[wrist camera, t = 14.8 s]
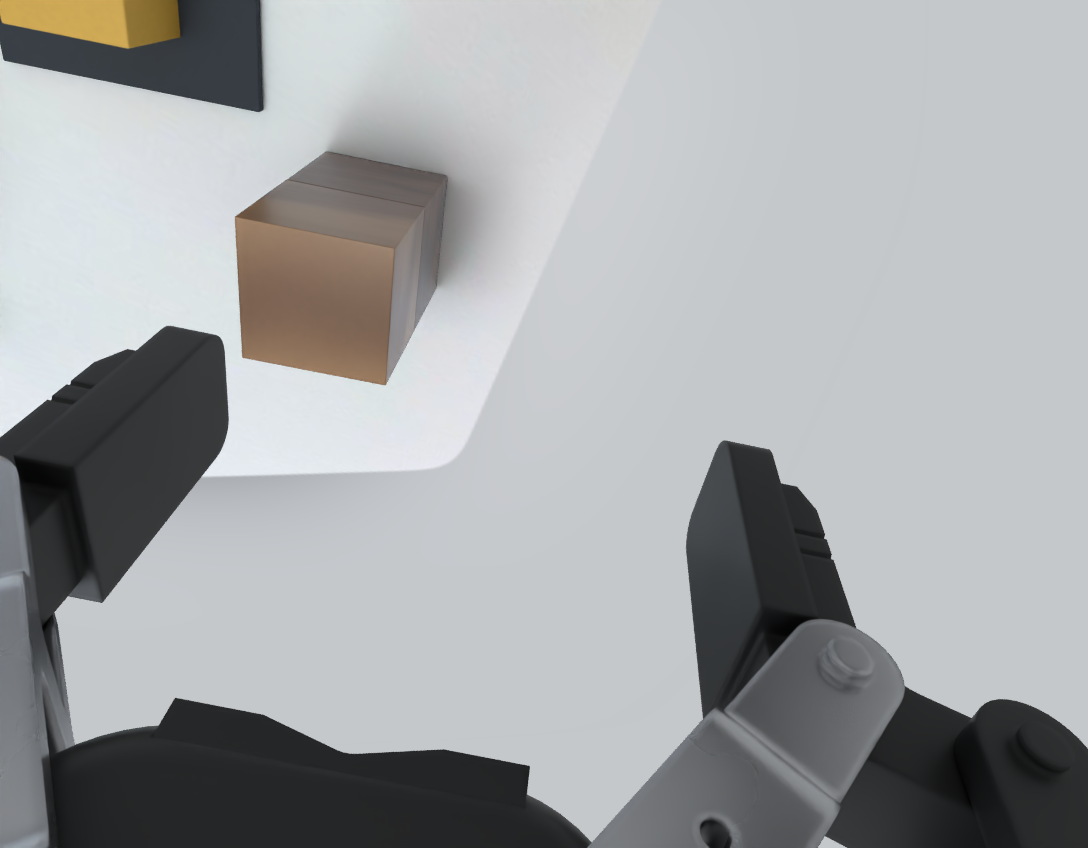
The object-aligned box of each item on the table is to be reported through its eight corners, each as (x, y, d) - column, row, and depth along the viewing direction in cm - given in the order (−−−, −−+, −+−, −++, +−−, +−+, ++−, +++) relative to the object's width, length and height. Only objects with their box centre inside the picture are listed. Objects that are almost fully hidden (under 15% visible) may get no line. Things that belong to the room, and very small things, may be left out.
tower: (325, 150, 42) (234, 216, 32) (447, 175, 42) (395, 248, 32) (323, 267, 46) (242, 358, 36) (436, 289, 46) (385, 385, 36)
